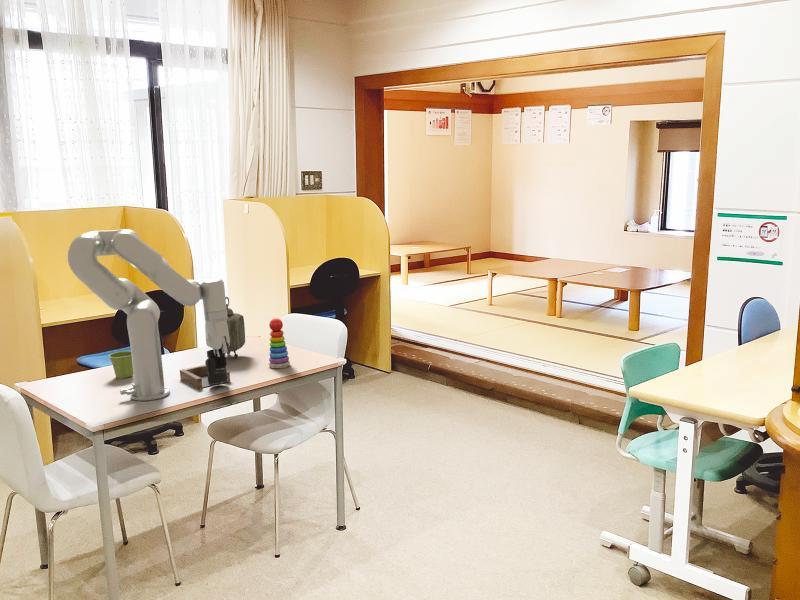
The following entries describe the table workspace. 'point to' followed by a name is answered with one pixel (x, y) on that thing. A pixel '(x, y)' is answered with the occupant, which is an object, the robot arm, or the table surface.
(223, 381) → the supplement bottle
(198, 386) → the u rest
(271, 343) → the stacking toy
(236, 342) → the tabletop clock
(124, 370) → the plant pot
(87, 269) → the robot arm
